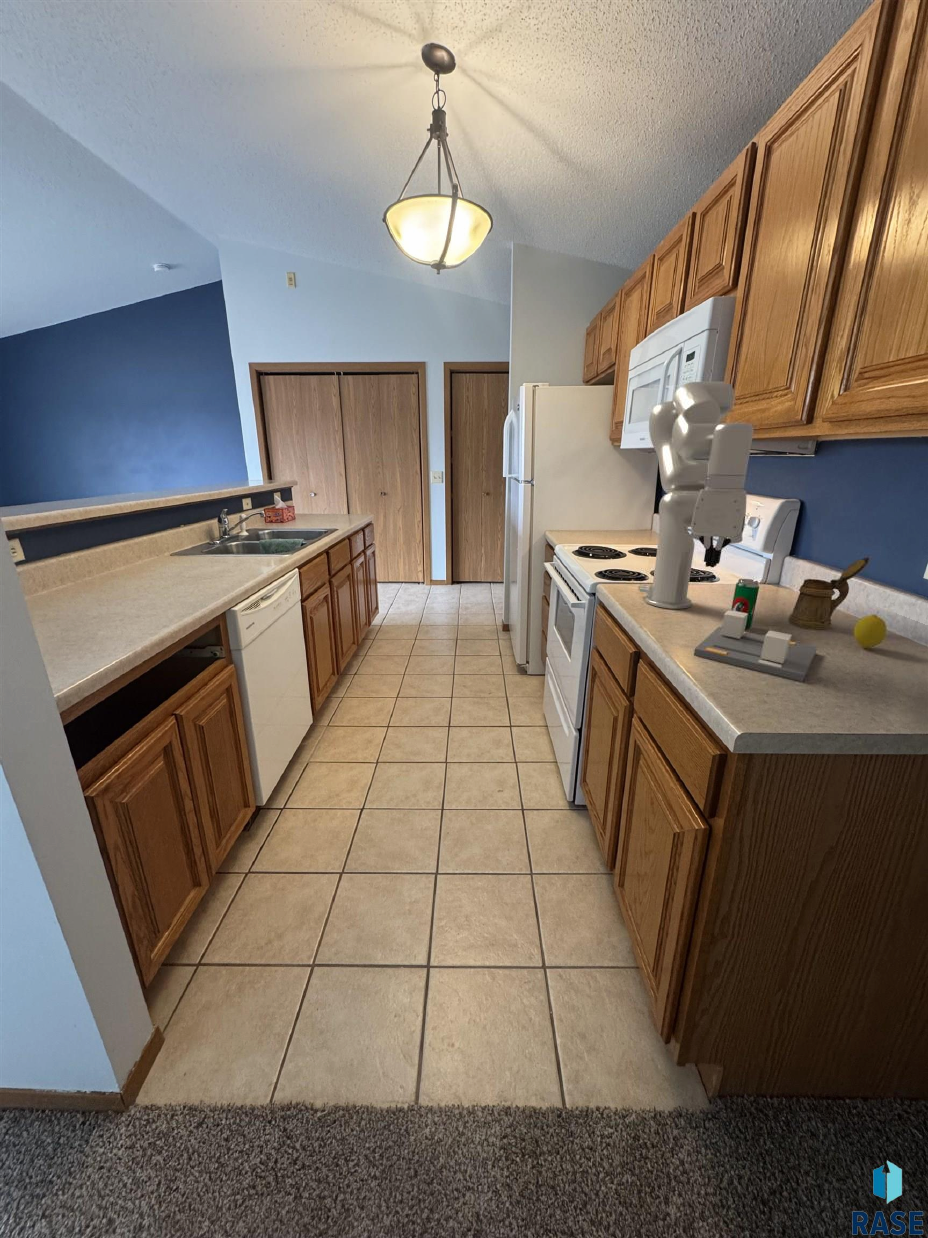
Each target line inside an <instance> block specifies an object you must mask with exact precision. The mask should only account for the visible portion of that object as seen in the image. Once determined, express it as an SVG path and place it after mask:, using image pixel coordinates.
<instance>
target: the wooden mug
mask: <svg viewBox="0 0 928 1238" xmlns="http://www.w3.org/2000/svg"><path fill="white" fill-rule="evenodd" d="M869 562H870V557H864V558H861V559H858V560H856V561H854V562H852V563H851V564H850V565H848V566H847V568H845V569H844V570H843V571H842V573H841V575H840V577H839V578H838V579H834V578H833V579H830V581H826V580H822V579H815V578H807V579H804V580H803V583H802V584H801V585H800V587H799V589H798V590H799V594H798V597H797V599H796V602H795V605H794V608H793V609H792V610H793V611H792V612H791V613H790V614H789V616H788V619H787V621H788V623H790V624H791V625H793V626H796V627H799V628H803V629H809V630H817V631H819V630H828V629H830V628H831V626H832V619H831V617H832V615H833V613H834V612H835V610H836V609H837V608H838V607H839V606H840V605H841V604H842V603H843V602H844V601H845V600H846V598H847V596H848V594H849V592H850V591H849V590H850V587H849V583H848V580H851V579H852V578H854V577H856V576H857V575H859V574H860V573H861V572H863V570H864V569H865V568H866V567H867V566H868V564H869ZM835 590H837V591H838V592H839V595H838V596H837V597H836V598H834V599H833V596H834V595H835V594H836V591H835Z"/></svg>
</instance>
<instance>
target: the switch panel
mask: <svg viewBox="0 0 928 1238" xmlns="http://www.w3.org/2000/svg"><path fill="white" fill-rule="evenodd" d="M721 629H722V626H718V627H716V629H714V630H713V631H712V632H711V633H710V634H709V635H708V636H707V637H706V638H705V639H704V640H703V641H702V642H700V643H699V644H698V645H696V646H695V648H694V651H693V656H696V657H701V658H704V659H707V660H708V659H709V660H713V661H717V662H720V663H725V664H728V665H734V666H736V667H742V668H745V669H748V670H753V671H757V672H762V673H765V674H770V675H772V676H773V675H774V676H777V677H782V678H786V679H790V680H793V681H798V682H804V679H805V678H806V675H807V673H808V671H809V670H810V667H811V665H812V662H813V660H814V659H815V656H816V654H817V651H818V646H813V645H810V644H809V645H808V644H803V643H799V642H795V641H790V645H789V649H788V654H787V658H786V659H785V661H784V663H783V664H782V663H778V662H774V661H770V660H765V659H761V653H762V648H763V644H764V639H765V635H760V634H756V633H750V632H746V631H744V634H743V636H742V637H741V638H740V639H738V638H734V637H729V636H724V635H721Z"/></svg>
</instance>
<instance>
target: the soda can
mask: <svg viewBox="0 0 928 1238" xmlns="http://www.w3.org/2000/svg"><path fill="white" fill-rule="evenodd" d="M760 587H761V586H760V584H759V581H758V580H755V579H752V578H740V579H738V581H737V582H736V583H735V587H734V593H733V599H732V602H731V603H732V605H731V609H730V610H731V611H737V612H742V613H748V616H747V621H746V626H745V630H749V629H751V628H752V626H753V621H754V615H755V611H756V607H757V601H758V596H759V591H760Z"/></svg>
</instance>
